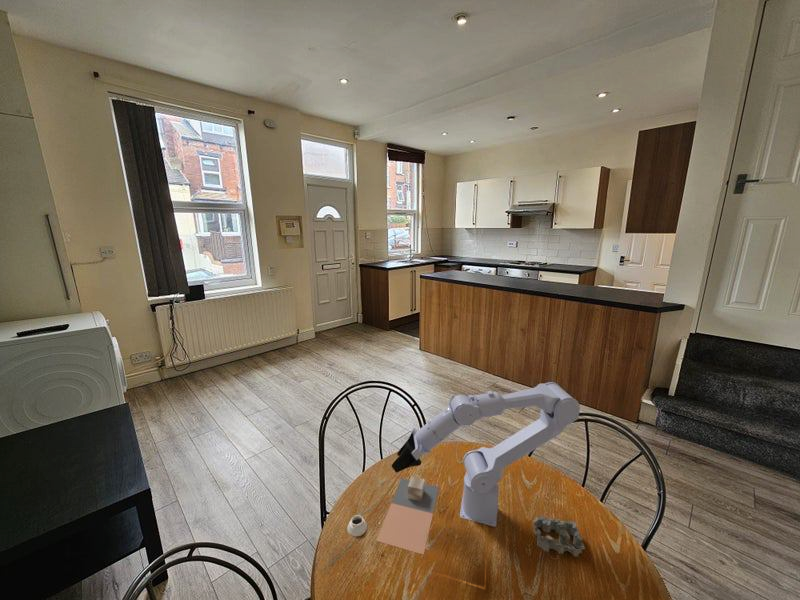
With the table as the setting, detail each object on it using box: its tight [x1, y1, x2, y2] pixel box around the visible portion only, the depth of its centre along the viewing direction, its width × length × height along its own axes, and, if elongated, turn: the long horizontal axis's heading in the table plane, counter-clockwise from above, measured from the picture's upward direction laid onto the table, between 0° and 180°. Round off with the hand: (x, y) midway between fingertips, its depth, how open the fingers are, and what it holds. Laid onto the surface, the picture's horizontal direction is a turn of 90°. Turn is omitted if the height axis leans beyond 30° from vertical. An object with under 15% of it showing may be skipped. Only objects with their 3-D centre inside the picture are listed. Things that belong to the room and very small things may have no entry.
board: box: [375, 477, 440, 555], centre depth 88 cm, size 12×22×1 cm, turn 163°
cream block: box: [408, 476, 426, 501], centre depth 93 cm, size 4×4×4 cm
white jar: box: [346, 514, 368, 537], centre depth 83 cm, size 5×3×5 cm
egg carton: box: [532, 515, 586, 557], centre depth 80 cm, size 11×8×4 cm
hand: (396, 462), depth 85 cm, fingers open, 7 cm apart
